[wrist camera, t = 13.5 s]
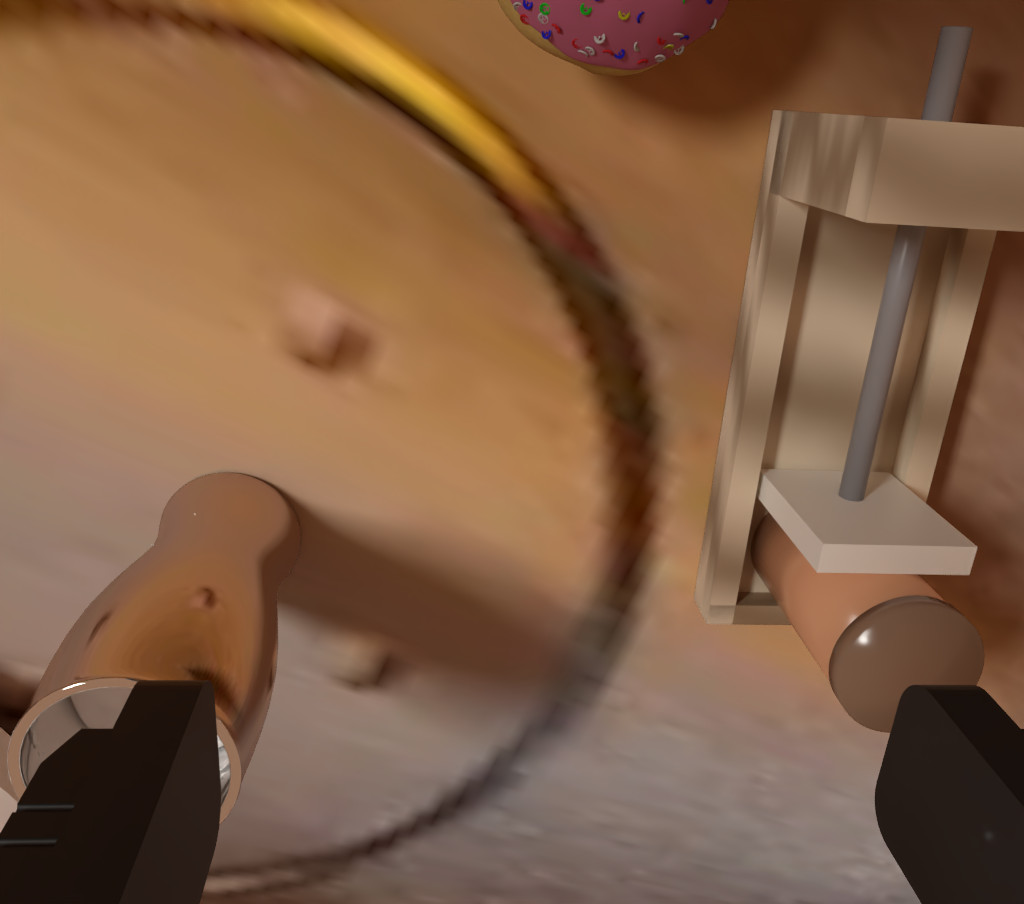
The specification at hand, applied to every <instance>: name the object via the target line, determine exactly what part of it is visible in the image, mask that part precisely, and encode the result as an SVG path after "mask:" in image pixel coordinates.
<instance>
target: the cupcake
mask: <svg viewBox="0 0 1024 904" xmlns="http://www.w3.org/2000/svg"><path fill="white" fill-rule="evenodd" d="M498 2H499V4H500V6H501V8H502V10H503V11H504V13H505V14H506V16H507V17H508V18H509V20H510V21H511V22H512V23H513V24H514V26H515V27H516V28H517V29H518V30H519V31H520V32H521V34H523V35H524V36H525V37H526V38H527V39H529V40H530V41H531V42H533V43H534V44H535V45H537V46H538V47H540V48H541V49H543V50H545V51H546V52H548V53H550V54H552V55H554V56H556V57H559V58H561V59H563V60H565V61H568V62H570V63H572V64H575V65H577V66H580V67H582V68H584V69H586V70H587V71H589V72H592V73H594V74H599V75H610V76H626V75H633V74H638V73H641V72H644V71H646V70H649V69H651V68H653V67H654V66H656V65H658V64H659V63H661V62H663V61H664V60H666V59H668V58H669V57H671V56H672V55H674V54H676V55H680V54H681V53H682V52H683V51H684V47H686V46H687V45H689V44H690V43H692V42H693V41H695V40H696V39H698V38H699V37H701V36H702V35H704V34H705V33H707V32H708V31H709V30H710V29H714V27H715V26H716V23H717V22H718V21H719V19H720V18H721V16H722V15H723V13H724V11H725V9H726V7H727V5H728V2H729V0H498ZM680 50H681V51H680ZM679 51H680V52H679Z"/></svg>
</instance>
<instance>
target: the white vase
mask: <svg viewBox="0 0 1024 904" xmlns="http://www.w3.org/2000/svg"><path fill="white" fill-rule="evenodd" d="M10 739H11V736H10V735H8V734H7V733H6V732H5V731H4V730H3V729H2V728H1V727H0V833H1V831H2V829H3V828H4V826H5V824H6V822H7V821H8V819H9V817H10V815H11V814H12V812H16V810H17V803H18V802H19V798H18V797H17V795H16V793H15V791H14V789H13V786H12V784H11V781H10V777H9V773H8V766H7V754H8V747H9V742H10Z"/></svg>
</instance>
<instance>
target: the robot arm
mask: <svg viewBox="0 0 1024 904" xmlns="http://www.w3.org/2000/svg"><path fill="white" fill-rule="evenodd" d="M875 810H876V816H877V821H878V825H879V828H880V832H881V834H882V837H883V839H884V841H885V843H886V845H887V847H888V848H889V850H890V852H891V853H892V855H893V857H894V858H895V860H896V862H897V863H898V865H899V867H900V868H901V870H902V872H903V873H904V875H905V877H906V878H907V880H908V882H909V883H910V885H911V887H912V888H913V890H914V892H915V893H916V895H917V897H918V898H919V900H920V902H921V903H922V904H1024V729H1020V728H1019V727H1018V726H1017V724H1016V723H1015V722H1014V721H1013V720H1012V719H1011V718H1010V717H1009V716H1008V715H1007V714H1006V712H1005V711H1004V710H1003V709H1002V708H1001V707H1000V706H999V705H998V704H997V703H996V702H995V700H994V699H993V698H992V697H991V696H990V695H989V694H988V693H987V692H986V691H985V690H984V689H982V688H980V687H978V686H975V685H911V686H909V687H908V688H906V690H905V691H904V692H903V694H902V695H901V698H900V701H899V704H898V707H897V711H896V715H895V718H894V722H893V726H892V729H891V733H890V736H889V740H888V744H887V747H886V751H885V755H884V758H883V762H882V766H881V769H880V773H879V777H878V780H877V784H876V789H875ZM220 812H221V780H220V766H219V752H218V738H217V724H216V710H215V697H214V690H213V686H212V683H211V682H210V681H209V680H140V681H138V682H137V683H136V684H135V685H134V687H133V689H132V691H131V693H130V695H129V697H128V699H127V701H126V703H125V705H124V707H123V709H122V711H121V713H120V715H119V717H118V719H117V721H116V723H115V725H114V727H113V729H80V730H79V731H78V732H77V733H76V734H74V735H73V736H72V737H71V738H70V739H69V740H67V741H66V742H65V743H64V744H63V745H61V746H60V747H59V748H58V749H57V750H56V751H54V752H53V753H52V754H51V755H50V756H49V757H47V758H46V759H45V760H44V761H43V762H41V764H40V765H39V767H38V769H37V771H36V772H35V774H34V776H33V777H32V779H31V781H30V783H29V784H28V786H27V788H26V790H25V791H24V793H23V795H22V796H21V798H20V800H19V802H18V803H17V810H16V812H12V814H11V815H10V817H9V819H8V821H7V822H6V824H5V826H4V828H3V829H2V831H1V833H0V904H199V903H200V900H201V896H202V893H203V889H204V886H205V882H206V879H207V875H208V872H209V868H210V865H211V861H212V858H213V854H214V850H215V846H216V842H217V836H218V830H219V823H220Z"/></svg>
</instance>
